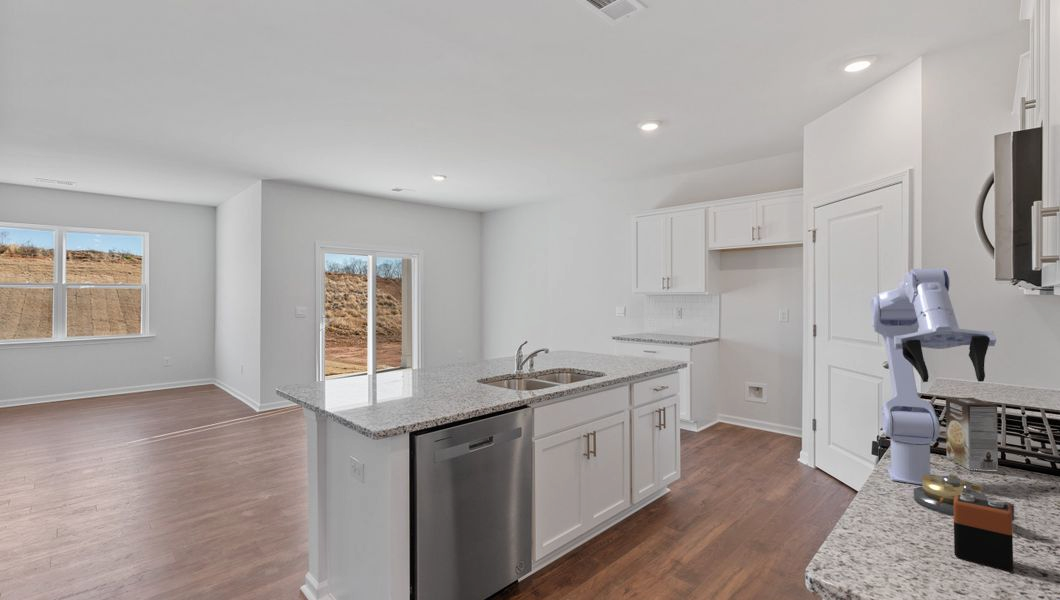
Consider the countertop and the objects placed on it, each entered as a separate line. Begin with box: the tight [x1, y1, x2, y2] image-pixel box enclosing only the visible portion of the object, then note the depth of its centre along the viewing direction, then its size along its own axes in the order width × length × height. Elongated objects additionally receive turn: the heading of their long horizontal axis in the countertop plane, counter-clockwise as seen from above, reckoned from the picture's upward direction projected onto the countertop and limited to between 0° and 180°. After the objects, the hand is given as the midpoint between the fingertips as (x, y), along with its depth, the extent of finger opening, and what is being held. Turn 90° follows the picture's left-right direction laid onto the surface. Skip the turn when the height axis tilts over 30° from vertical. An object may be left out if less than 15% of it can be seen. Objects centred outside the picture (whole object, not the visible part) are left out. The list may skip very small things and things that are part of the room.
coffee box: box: [945, 397, 999, 472], centre depth 121 cm, size 9×6×16 cm
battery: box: [953, 493, 1014, 572], centre depth 78 cm, size 4×7×10 cm, turn 47°
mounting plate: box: [913, 486, 954, 517], centre depth 99 cm, size 12×12×2 cm
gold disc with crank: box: [922, 473, 1015, 522], centre depth 95 cm, size 17×9×4 cm, turn 179°
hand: (953, 378), depth 87 cm, fingers open, 7 cm apart
